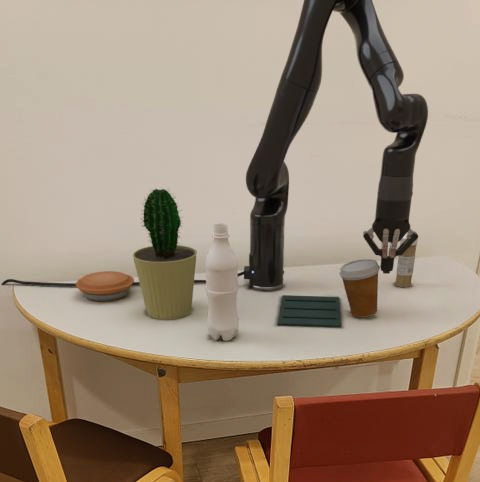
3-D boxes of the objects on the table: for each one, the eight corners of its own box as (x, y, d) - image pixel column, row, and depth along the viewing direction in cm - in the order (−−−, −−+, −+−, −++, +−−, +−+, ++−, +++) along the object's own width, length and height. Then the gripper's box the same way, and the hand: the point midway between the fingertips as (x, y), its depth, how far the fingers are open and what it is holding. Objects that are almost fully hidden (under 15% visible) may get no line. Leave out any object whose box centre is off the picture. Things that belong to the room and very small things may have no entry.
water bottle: (207, 331, 141) (202, 221, 128) (237, 330, 141) (236, 220, 128) (208, 343, 135) (203, 229, 121) (240, 342, 135) (239, 228, 122)
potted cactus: (211, 307, 154) (207, 183, 138) (173, 327, 143) (163, 195, 127) (165, 296, 161) (156, 178, 146) (126, 314, 151) (111, 188, 135)
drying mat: (277, 325, 143) (277, 321, 143) (282, 297, 160) (282, 294, 160) (340, 327, 142) (341, 324, 141) (338, 298, 159) (339, 295, 158)
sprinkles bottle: (405, 281, 170) (411, 233, 163) (414, 286, 167) (421, 237, 160) (391, 283, 169) (397, 235, 162) (400, 288, 165) (407, 239, 158)
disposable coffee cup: (382, 302, 151) (377, 255, 146) (385, 316, 143) (380, 267, 137) (344, 308, 153) (338, 262, 147) (345, 322, 145) (339, 274, 139)
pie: (65, 300, 160) (62, 281, 157) (98, 282, 172) (96, 265, 170) (115, 307, 155) (113, 288, 152) (145, 288, 167) (143, 271, 165)
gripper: (422, 193, 136) (412, 268, 145) (363, 192, 138) (357, 267, 147) (427, 199, 130) (416, 278, 139) (365, 199, 131) (358, 277, 140)
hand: (385, 272), depth 143 cm, fingers closed
